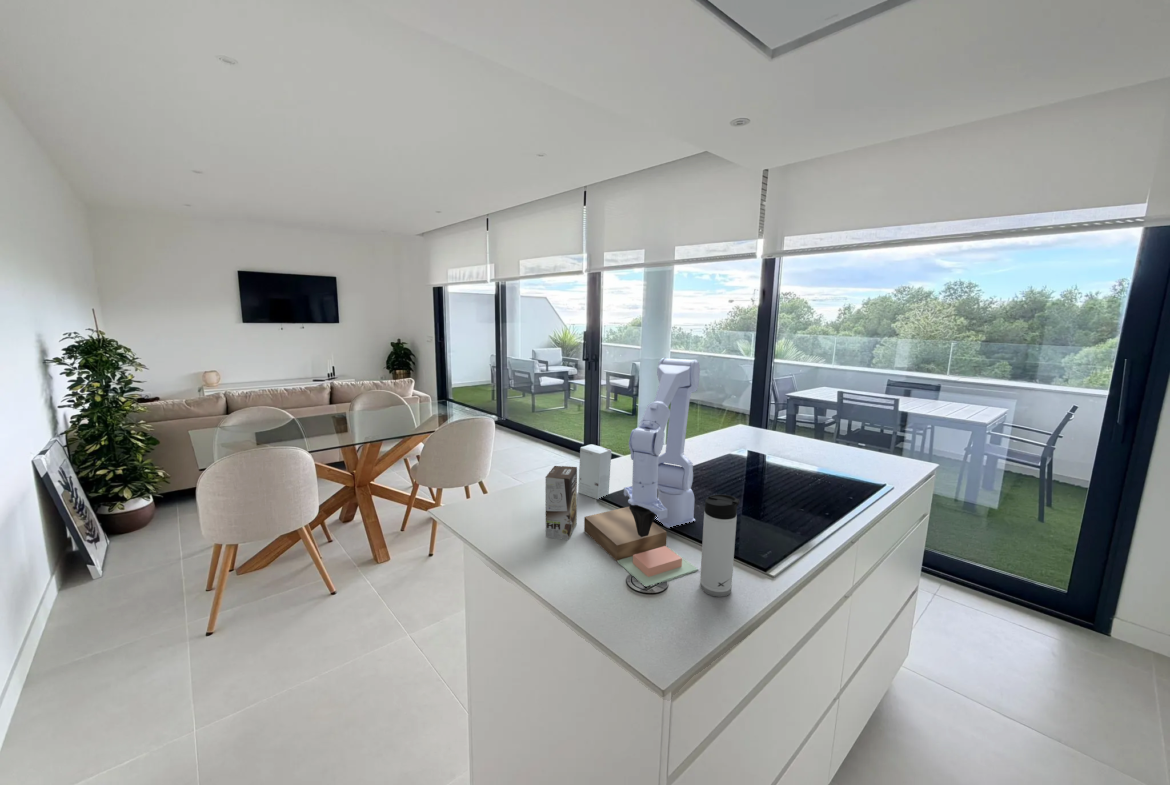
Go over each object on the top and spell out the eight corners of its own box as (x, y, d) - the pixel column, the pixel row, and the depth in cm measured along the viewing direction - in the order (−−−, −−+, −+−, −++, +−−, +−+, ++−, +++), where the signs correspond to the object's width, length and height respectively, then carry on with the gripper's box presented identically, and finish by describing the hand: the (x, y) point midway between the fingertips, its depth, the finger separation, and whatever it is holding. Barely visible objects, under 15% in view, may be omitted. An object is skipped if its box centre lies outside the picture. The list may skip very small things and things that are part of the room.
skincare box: (577, 493, 142) (577, 447, 139) (590, 487, 147) (590, 443, 144) (598, 500, 137) (599, 453, 134) (611, 494, 141) (611, 448, 139)
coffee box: (569, 540, 113) (569, 478, 110) (544, 537, 115) (544, 476, 112) (577, 523, 122) (578, 466, 119) (554, 521, 123) (554, 464, 120)
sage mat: (666, 547, 110) (667, 546, 110) (697, 570, 101) (698, 568, 101) (617, 562, 104) (617, 560, 104) (645, 588, 94) (645, 586, 94)
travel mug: (728, 601, 90) (735, 506, 86) (695, 590, 94) (700, 498, 90) (736, 585, 95) (743, 495, 92) (705, 575, 99) (710, 488, 95)
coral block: (682, 558, 101) (681, 566, 102) (665, 545, 106) (665, 553, 107) (648, 568, 97) (648, 577, 97) (633, 555, 102) (632, 563, 103)
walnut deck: (629, 520, 124) (630, 506, 124) (666, 547, 111) (666, 531, 110) (584, 531, 118) (584, 516, 117) (616, 561, 104) (617, 545, 103)
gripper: (613, 472, 108) (612, 525, 111) (649, 494, 96) (647, 553, 98) (638, 467, 112) (636, 519, 114) (676, 488, 99) (673, 546, 101)
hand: (643, 534), depth 106 cm, fingers closed
